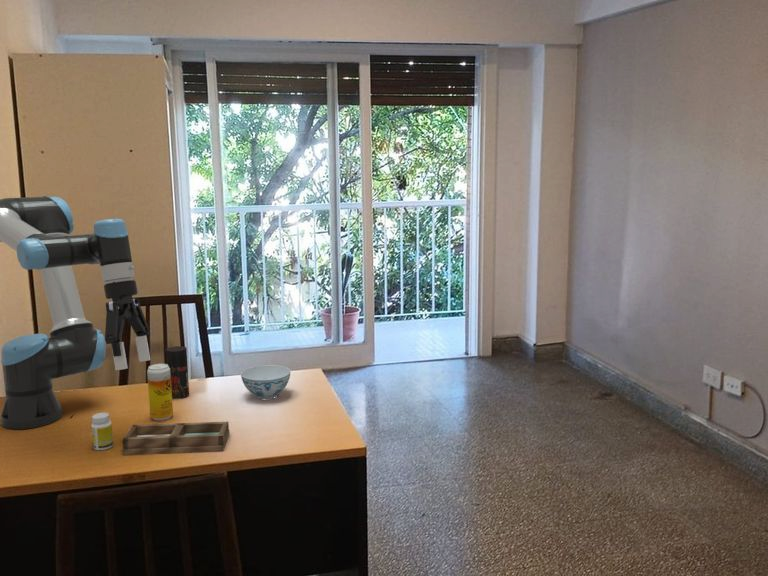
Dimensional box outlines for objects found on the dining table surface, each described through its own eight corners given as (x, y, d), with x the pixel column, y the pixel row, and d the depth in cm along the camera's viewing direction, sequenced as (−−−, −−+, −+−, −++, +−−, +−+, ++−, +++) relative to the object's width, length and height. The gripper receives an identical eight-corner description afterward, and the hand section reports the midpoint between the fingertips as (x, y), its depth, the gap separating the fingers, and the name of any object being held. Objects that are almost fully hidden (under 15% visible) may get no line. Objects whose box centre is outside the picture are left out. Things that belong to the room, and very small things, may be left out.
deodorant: (169, 393, 208) (166, 347, 206) (189, 391, 210) (186, 345, 207) (169, 399, 203) (166, 352, 200) (189, 397, 205) (186, 350, 202)
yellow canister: (166, 422, 185) (162, 370, 182) (146, 420, 186) (142, 369, 184) (177, 414, 191) (173, 363, 188) (157, 412, 192) (154, 362, 190)
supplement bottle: (117, 444, 171) (114, 412, 169) (105, 451, 166) (102, 419, 165) (101, 442, 172) (98, 411, 171) (88, 449, 168) (86, 417, 166)
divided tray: (122, 454, 164) (121, 440, 164) (135, 437, 175) (133, 423, 175) (223, 451, 166) (222, 437, 166) (229, 433, 177) (228, 420, 176)
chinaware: (258, 408, 195) (257, 383, 194) (232, 395, 206) (231, 371, 205) (300, 396, 205) (300, 372, 204) (274, 385, 216) (273, 362, 215)
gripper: (110, 280, 154) (126, 370, 155) (153, 277, 179) (167, 355, 180) (79, 285, 155) (95, 375, 155) (126, 282, 179) (140, 359, 180)
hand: (133, 365), depth 167 cm, fingers open, 13 cm apart
